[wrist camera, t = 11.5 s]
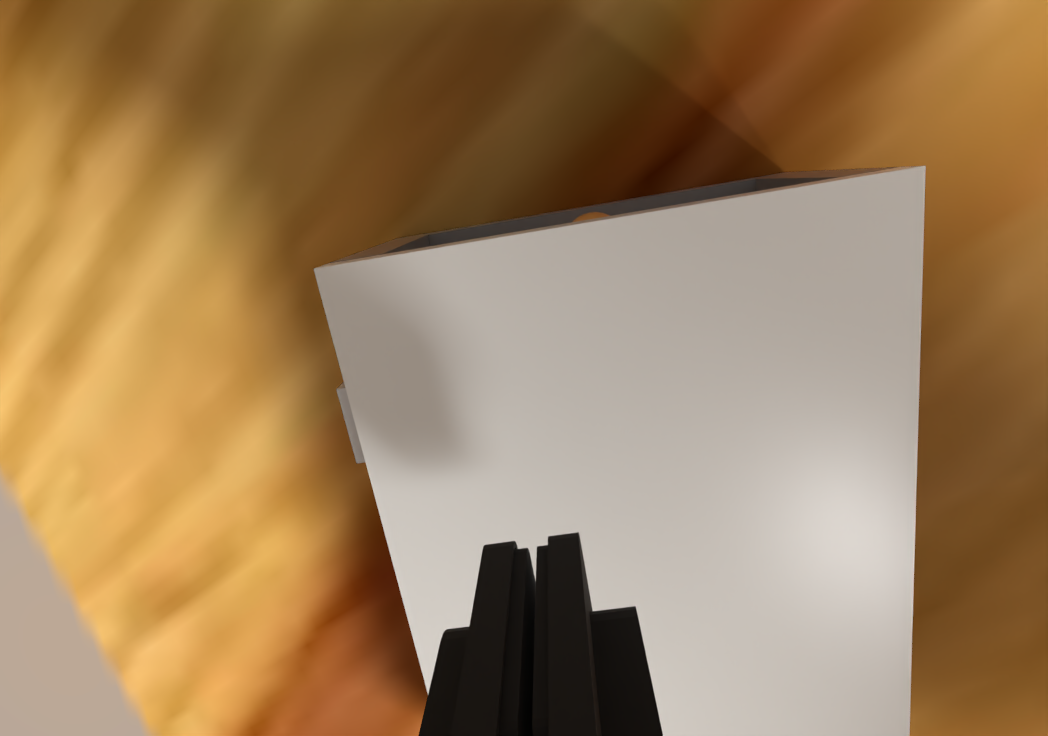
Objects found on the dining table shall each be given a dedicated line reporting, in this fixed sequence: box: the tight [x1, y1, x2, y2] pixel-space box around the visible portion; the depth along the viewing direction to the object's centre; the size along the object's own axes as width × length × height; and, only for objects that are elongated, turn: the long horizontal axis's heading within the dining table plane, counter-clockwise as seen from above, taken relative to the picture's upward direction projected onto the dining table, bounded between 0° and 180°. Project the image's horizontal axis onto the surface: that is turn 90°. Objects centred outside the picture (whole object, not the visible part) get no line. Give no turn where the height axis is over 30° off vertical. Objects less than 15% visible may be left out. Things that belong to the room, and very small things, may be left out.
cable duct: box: [330, 167, 897, 463], centre depth 19 cm, size 22×13×6 cm, turn 9°
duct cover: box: [314, 166, 926, 736], centre depth 15 cm, size 22×12×1 cm, turn 9°
